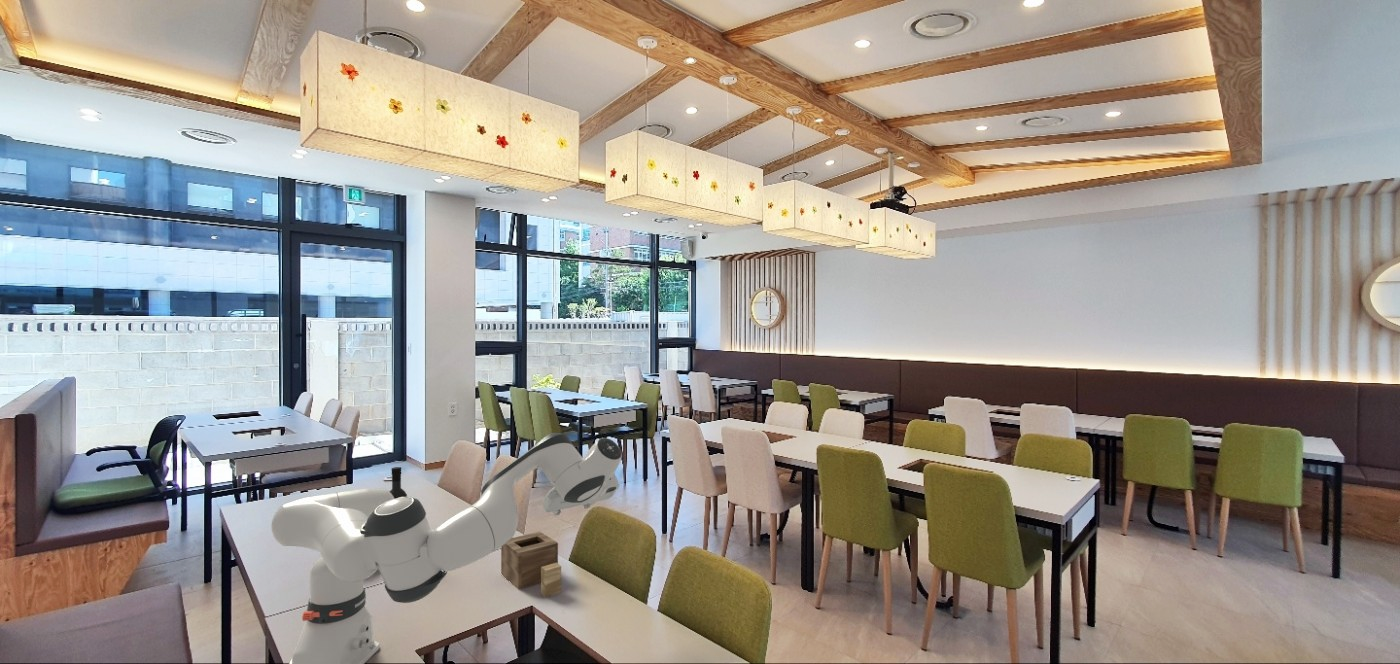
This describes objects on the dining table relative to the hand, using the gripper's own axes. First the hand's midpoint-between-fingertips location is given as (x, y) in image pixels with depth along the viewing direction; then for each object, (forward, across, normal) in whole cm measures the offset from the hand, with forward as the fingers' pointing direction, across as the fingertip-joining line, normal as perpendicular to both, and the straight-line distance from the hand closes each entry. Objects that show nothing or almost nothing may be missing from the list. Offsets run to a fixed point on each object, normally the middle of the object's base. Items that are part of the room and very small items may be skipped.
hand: (570, 509), depth 168 cm
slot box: (+39, 0, 0) cm, 39 cm away
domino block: (+29, 0, -11) cm, 31 cm away
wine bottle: (+71, -28, +31) cm, 83 cm away
